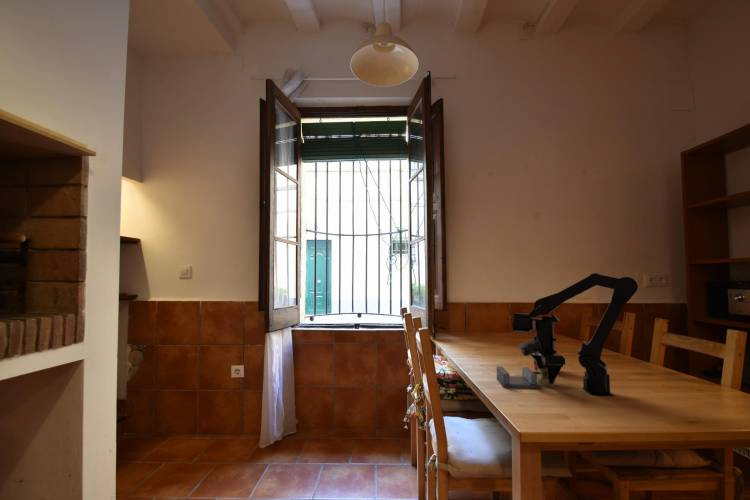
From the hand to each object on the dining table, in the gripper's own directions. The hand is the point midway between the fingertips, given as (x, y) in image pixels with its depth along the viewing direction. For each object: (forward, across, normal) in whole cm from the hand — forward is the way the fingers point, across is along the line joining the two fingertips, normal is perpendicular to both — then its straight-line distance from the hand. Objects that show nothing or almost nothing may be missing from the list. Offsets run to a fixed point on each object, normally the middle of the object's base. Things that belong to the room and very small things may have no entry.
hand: (546, 379), depth 126 cm
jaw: (0, 0, -4) cm, 4 cm away
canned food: (+2, -20, +6) cm, 21 cm away
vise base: (+2, 0, -10) cm, 10 cm away
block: (+2, 0, 0) cm, 2 cm away
